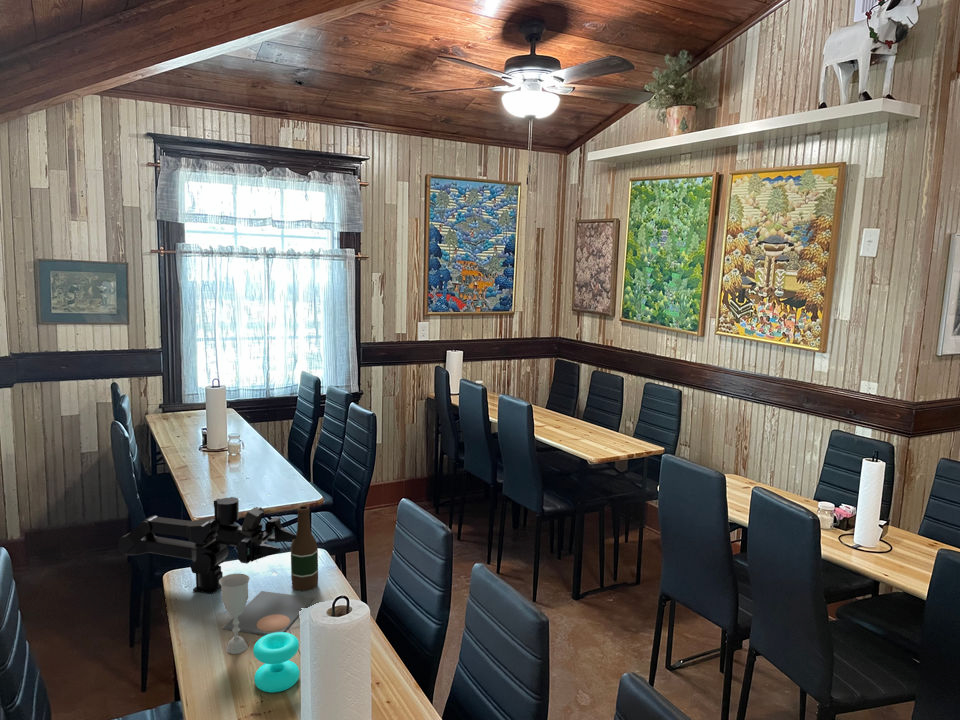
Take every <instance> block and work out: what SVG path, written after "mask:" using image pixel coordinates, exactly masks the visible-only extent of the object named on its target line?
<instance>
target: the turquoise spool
mask: <svg viewBox="0 0 960 720" xmlns="http://www.w3.org/2000/svg"><path fill="white" fill-rule="evenodd" d="M299 649H300V641H299V639H298V638H297V637H296V636H295V635H294V634H292V633H290V632H286V631H285V632H275V633H271V634H267V635H263V636H262V637H260V638H259V639H258V640H257V641H256V642H255V644H254V646H253V656H254V657H255V659H257V660H258V661H259V662H260V663H263V664H262V665H261V666H260V667H259V668H258V669H257V670H256V671H255V674H254V678H253V680H254V684H255V686H256V688H258V689H259V690H260V691H262V692H266V693H280V692H283V691H286V690H288V689H291V688H292V687H293V686H294V685H295V684H296V683H297V682H298V681H299V678H300V668H299V666H298V665H297V664H296V663H295V662H294V661H291V659H292V658H294V656H296V654H297V653H298V651H299Z"/></svg>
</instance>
